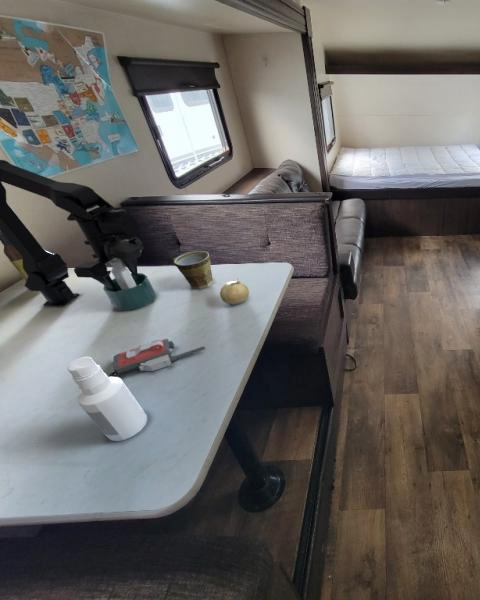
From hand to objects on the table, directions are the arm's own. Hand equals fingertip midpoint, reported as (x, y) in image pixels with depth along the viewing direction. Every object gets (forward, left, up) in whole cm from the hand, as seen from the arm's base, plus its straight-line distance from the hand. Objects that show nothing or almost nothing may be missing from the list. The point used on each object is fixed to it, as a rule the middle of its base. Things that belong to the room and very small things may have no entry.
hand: (125, 282), depth 102 cm
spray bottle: (+31, -43, -7) cm, 54 cm away
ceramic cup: (+14, +11, -7) cm, 19 cm away
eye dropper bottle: (0, 0, -4) cm, 4 cm away
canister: (0, 0, -7) cm, 7 cm away
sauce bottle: (-40, +8, -7) cm, 41 cm away
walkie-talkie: (+25, -24, -7) cm, 35 cm away
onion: (+32, +2, -7) cm, 33 cm away
